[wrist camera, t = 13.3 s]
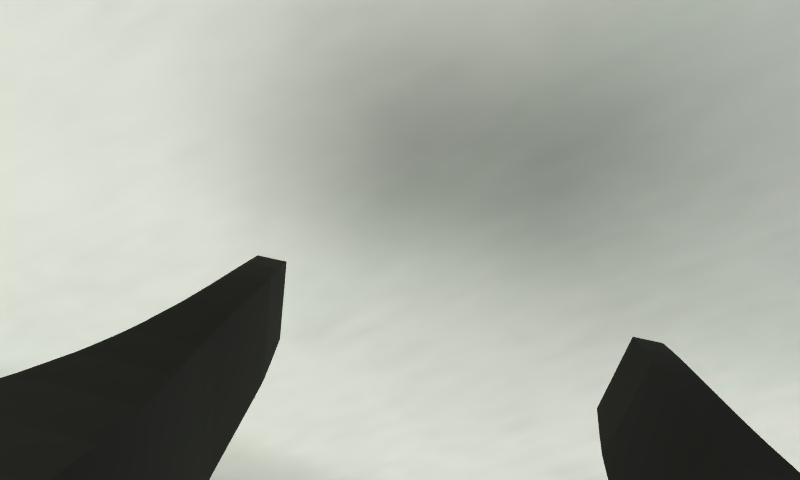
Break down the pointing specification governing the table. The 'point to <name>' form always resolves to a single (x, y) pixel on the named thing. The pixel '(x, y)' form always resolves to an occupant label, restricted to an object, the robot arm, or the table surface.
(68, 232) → the table surface
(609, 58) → the table surface
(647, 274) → the table surface
